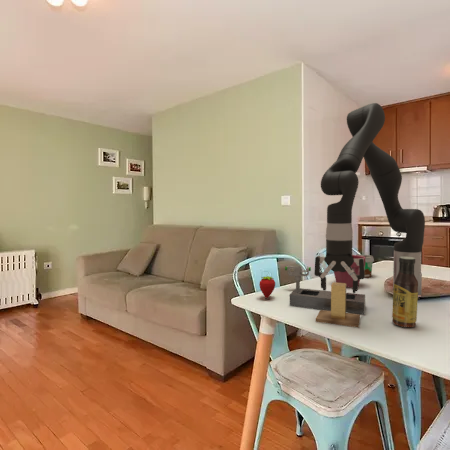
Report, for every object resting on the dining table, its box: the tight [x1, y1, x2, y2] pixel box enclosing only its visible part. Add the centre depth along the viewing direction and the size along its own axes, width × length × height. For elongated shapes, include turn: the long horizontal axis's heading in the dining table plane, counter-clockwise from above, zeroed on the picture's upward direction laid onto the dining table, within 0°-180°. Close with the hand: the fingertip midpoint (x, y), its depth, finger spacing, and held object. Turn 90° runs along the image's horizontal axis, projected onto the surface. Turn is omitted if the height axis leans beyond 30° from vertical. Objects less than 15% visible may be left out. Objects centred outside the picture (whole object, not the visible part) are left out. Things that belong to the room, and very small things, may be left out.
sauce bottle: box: [391, 257, 419, 328], centre depth 94 cm, size 7×6×20 cm
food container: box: [355, 253, 375, 279], centre depth 160 cm, size 12×6×10 cm, turn 179°
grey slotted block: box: [289, 287, 366, 315], centre depth 113 cm, size 24×10×4 cm, turn 65°
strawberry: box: [258, 273, 276, 299], centre depth 123 cm, size 6×8×10 cm
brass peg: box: [330, 281, 347, 319], centre depth 99 cm, size 4×4×10 cm
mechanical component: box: [284, 265, 312, 289], centre depth 134 cm, size 3×10×10 cm, turn 78°
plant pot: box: [333, 254, 365, 289], centre depth 142 cm, size 14×14×13 cm
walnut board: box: [315, 309, 361, 328], centre depth 100 cm, size 12×9×1 cm
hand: (339, 291), depth 99 cm, fingers open, 8 cm apart
